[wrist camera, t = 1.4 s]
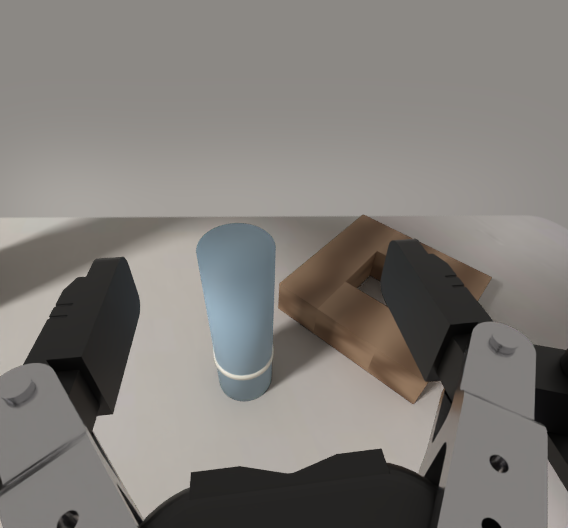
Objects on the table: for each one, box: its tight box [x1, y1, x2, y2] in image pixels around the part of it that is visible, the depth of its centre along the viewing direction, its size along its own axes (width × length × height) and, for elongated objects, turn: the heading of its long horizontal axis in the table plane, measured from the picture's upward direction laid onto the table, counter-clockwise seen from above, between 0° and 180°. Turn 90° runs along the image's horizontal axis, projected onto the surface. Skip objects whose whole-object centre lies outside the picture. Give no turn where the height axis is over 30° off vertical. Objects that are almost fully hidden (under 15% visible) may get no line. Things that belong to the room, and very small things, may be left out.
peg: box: [196, 223, 276, 401], centre depth 27 cm, size 5×5×16 cm
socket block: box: [278, 215, 492, 404], centre depth 38 cm, size 16×16×4 cm
